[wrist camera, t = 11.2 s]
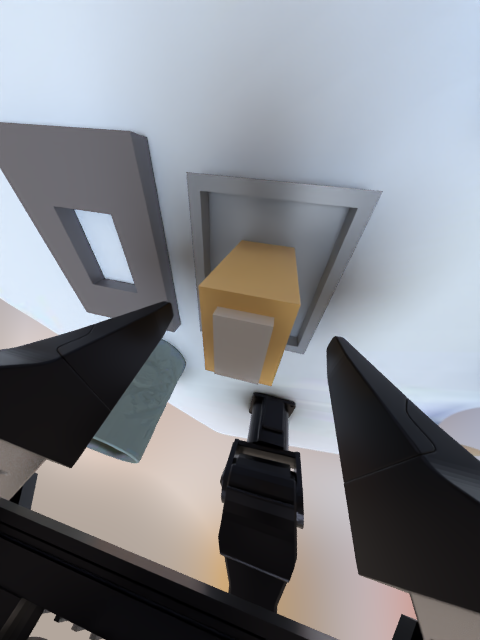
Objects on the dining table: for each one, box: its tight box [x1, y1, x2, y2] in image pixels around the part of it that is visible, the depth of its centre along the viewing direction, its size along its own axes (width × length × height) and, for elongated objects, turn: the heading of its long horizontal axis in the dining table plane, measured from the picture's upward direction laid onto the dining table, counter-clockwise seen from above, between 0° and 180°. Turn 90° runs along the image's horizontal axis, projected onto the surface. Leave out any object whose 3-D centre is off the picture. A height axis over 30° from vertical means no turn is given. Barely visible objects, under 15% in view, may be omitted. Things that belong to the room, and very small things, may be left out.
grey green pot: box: [87, 339, 185, 463], centre depth 22 cm, size 10×10×12 cm
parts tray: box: [186, 172, 383, 354], centre depth 14 cm, size 13×11×2 cm
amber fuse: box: [198, 240, 301, 386], centre depth 11 cm, size 6×4×9 cm
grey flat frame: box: [0, 122, 180, 332], centre depth 16 cm, size 16×12×2 cm
